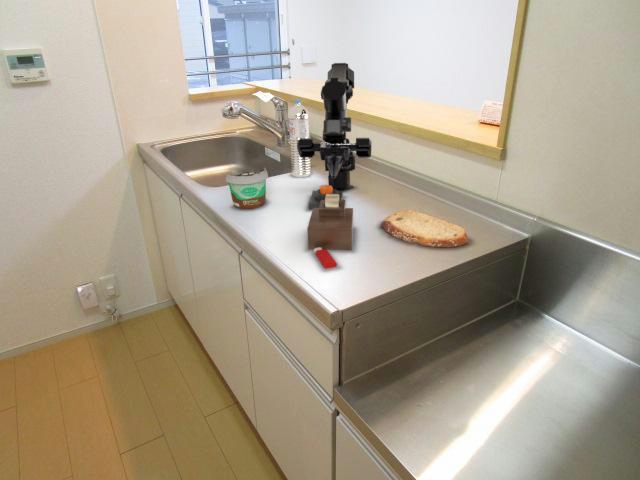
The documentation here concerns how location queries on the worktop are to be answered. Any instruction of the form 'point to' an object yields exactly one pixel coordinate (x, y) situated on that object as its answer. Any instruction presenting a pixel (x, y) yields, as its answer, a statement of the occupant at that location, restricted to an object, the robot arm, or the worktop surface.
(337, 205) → the beige block
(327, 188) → the power button
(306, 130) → the water bottle
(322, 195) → the power block
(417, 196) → the worktop surface
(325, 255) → the lighter
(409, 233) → the bread slice
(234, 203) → the food container
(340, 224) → the stand
